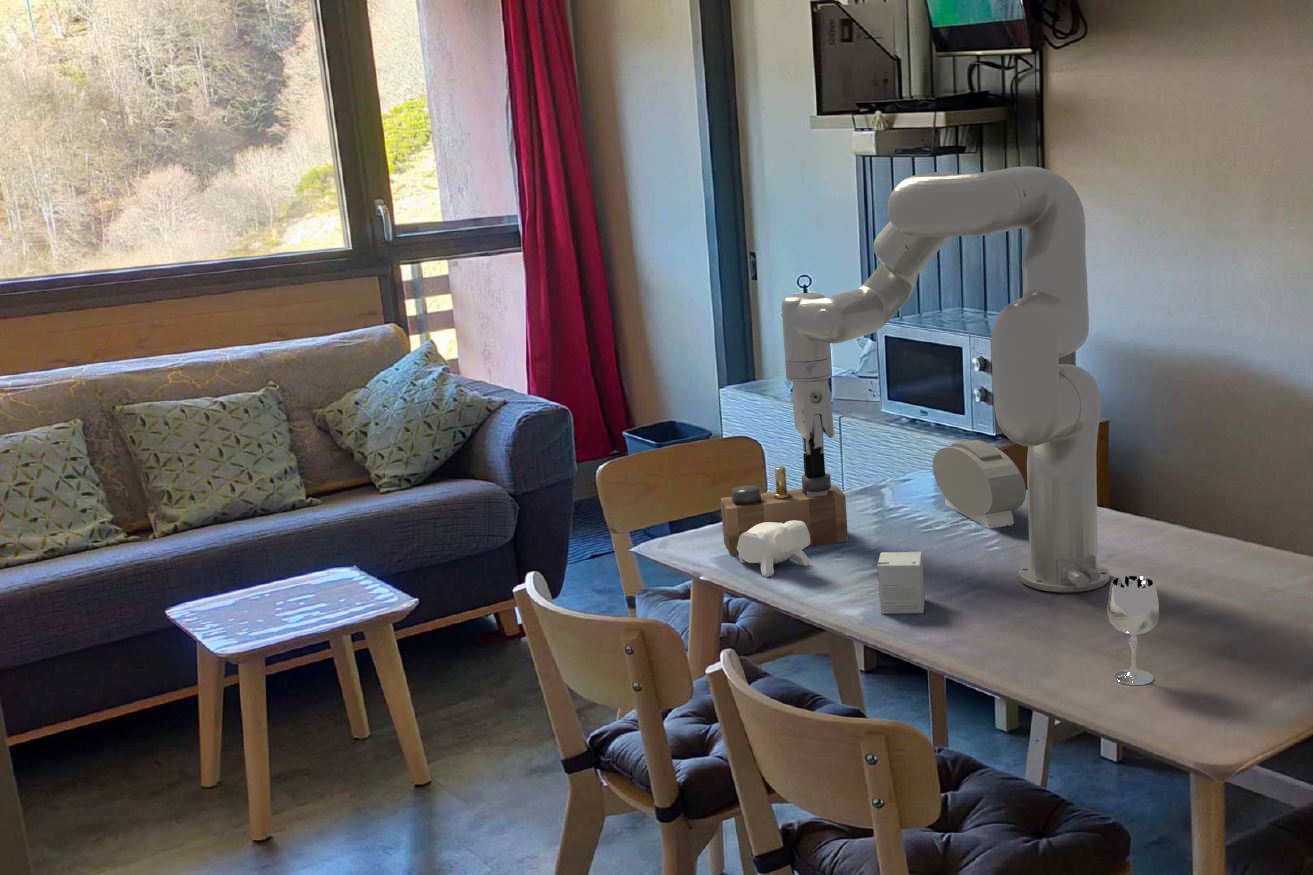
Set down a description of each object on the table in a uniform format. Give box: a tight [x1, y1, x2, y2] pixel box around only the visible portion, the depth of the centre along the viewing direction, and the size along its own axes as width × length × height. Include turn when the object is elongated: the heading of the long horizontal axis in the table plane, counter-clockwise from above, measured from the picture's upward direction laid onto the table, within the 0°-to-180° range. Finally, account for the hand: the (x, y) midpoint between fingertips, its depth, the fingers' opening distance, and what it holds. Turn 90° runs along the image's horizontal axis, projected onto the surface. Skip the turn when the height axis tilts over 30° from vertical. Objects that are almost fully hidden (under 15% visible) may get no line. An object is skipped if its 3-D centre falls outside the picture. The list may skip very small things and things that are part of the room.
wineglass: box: [1106, 575, 1160, 686], centre depth 151 cm, size 6×6×12 cm
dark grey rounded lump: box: [731, 485, 762, 505], centre depth 215 cm, size 5×5×9 cm
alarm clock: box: [932, 439, 1027, 530], centre depth 221 cm, size 23×6×13 cm, turn 12°
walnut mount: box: [719, 484, 849, 556], centre depth 216 cm, size 7×20×8 cm, turn 95°
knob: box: [801, 472, 832, 497], centre depth 216 cm, size 5×5×9 cm
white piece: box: [736, 520, 811, 578], centre depth 203 cm, size 9×8×15 cm
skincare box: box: [876, 551, 926, 615], centre depth 182 cm, size 6×6×7 cm
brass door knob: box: [773, 466, 791, 499], centre depth 214 cm, size 3×3×5 cm
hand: (814, 476), depth 215 cm, fingers closed
